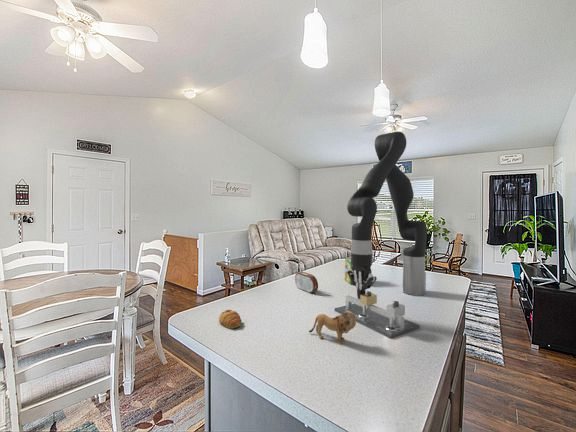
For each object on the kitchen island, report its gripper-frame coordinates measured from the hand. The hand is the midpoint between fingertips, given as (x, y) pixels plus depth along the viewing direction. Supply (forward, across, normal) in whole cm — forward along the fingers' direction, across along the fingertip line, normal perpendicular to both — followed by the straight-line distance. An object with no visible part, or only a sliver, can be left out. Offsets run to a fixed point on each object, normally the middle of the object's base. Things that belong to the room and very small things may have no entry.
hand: (361, 298), depth 102 cm
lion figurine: (+6, -9, +21) cm, 23 cm away
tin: (+6, +35, +1) cm, 35 cm away
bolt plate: (+6, -5, -1) cm, 8 cm away
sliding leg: (+4, -4, 0) cm, 6 cm away
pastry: (+6, +17, +44) cm, 47 cm away
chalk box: (+6, +34, -30) cm, 46 cm away
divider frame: (+5, -5, 0) cm, 7 cm away
